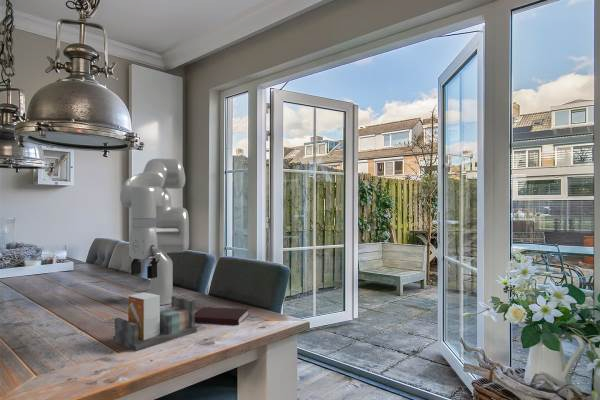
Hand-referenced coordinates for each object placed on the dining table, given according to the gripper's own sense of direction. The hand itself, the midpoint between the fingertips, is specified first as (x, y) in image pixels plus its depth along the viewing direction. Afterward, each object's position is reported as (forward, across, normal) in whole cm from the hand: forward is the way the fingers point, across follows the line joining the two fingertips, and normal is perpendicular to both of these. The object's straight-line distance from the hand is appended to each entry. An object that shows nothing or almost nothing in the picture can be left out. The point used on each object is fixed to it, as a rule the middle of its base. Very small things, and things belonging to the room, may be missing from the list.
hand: (143, 276), depth 125 cm
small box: (+19, +1, 0) cm, 19 cm away
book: (+22, +3, +30) cm, 37 cm away
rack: (+21, +1, +4) cm, 21 cm away
